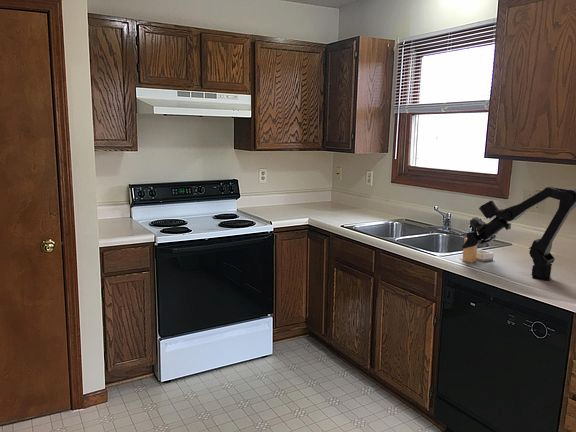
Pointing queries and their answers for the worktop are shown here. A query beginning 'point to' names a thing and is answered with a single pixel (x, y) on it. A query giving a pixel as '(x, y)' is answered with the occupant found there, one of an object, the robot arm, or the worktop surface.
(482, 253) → the socket
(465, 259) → the plug
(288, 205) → the worktop surface
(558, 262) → the worktop surface
